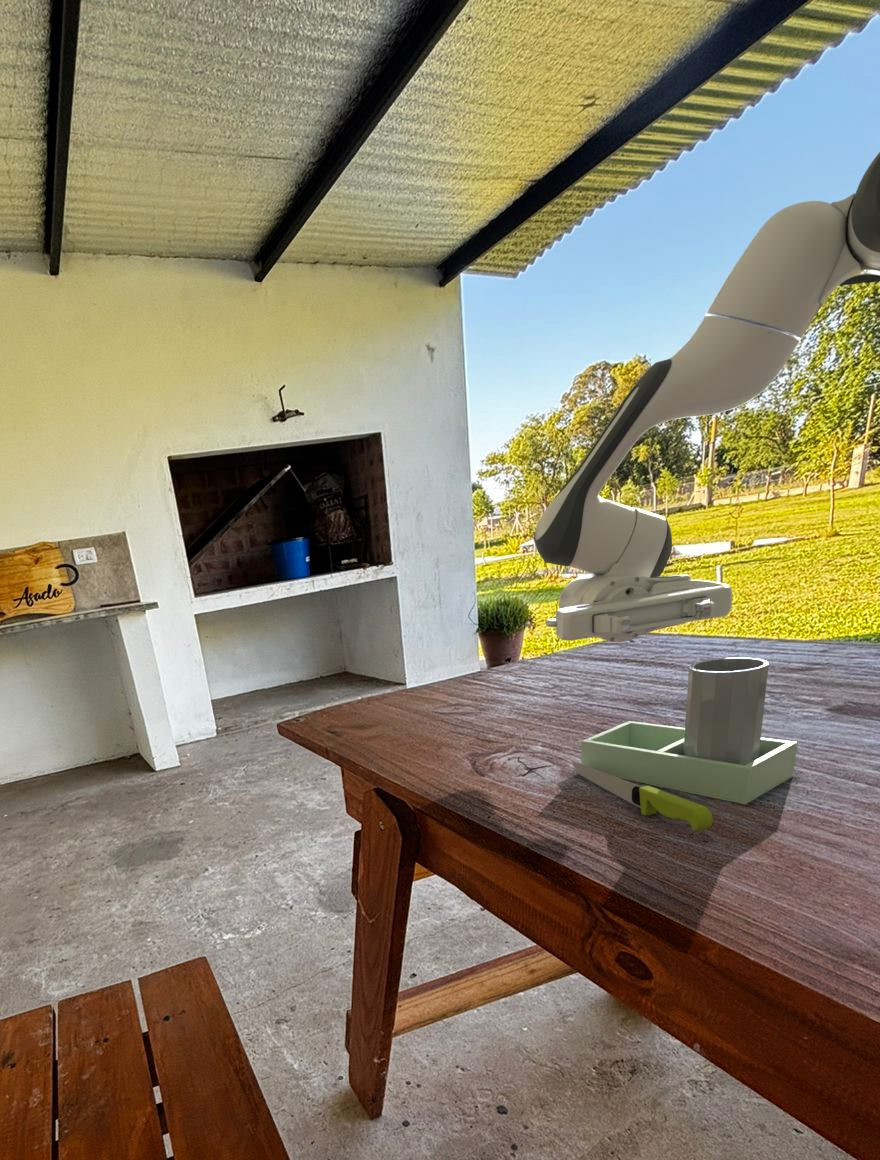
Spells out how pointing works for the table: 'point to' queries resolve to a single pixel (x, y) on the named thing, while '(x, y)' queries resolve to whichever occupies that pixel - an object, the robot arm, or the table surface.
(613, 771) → the divided tray
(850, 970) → the table surface
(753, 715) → the cutlery cup
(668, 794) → the kitchen knife
